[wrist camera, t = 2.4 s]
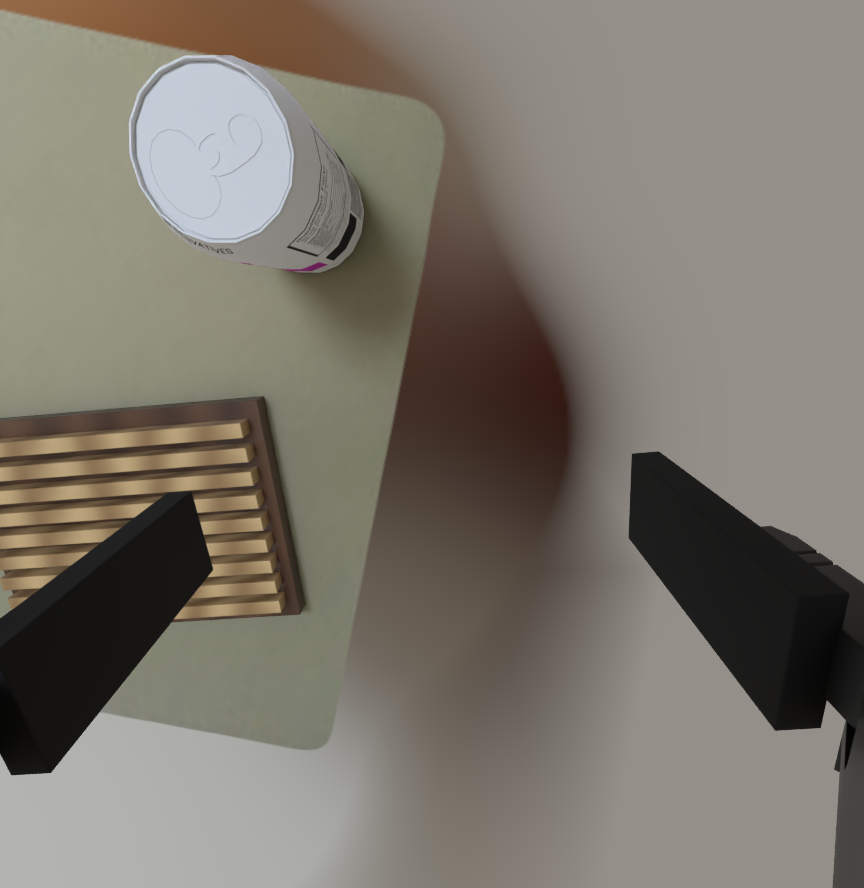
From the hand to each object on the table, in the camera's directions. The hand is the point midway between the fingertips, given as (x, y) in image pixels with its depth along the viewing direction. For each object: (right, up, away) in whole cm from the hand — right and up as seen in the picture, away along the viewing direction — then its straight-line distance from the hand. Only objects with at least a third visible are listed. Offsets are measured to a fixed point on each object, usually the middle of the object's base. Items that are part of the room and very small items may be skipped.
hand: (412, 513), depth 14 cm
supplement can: (-8, +19, +20) cm, 29 cm away
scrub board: (-25, -5, +28) cm, 38 cm away
